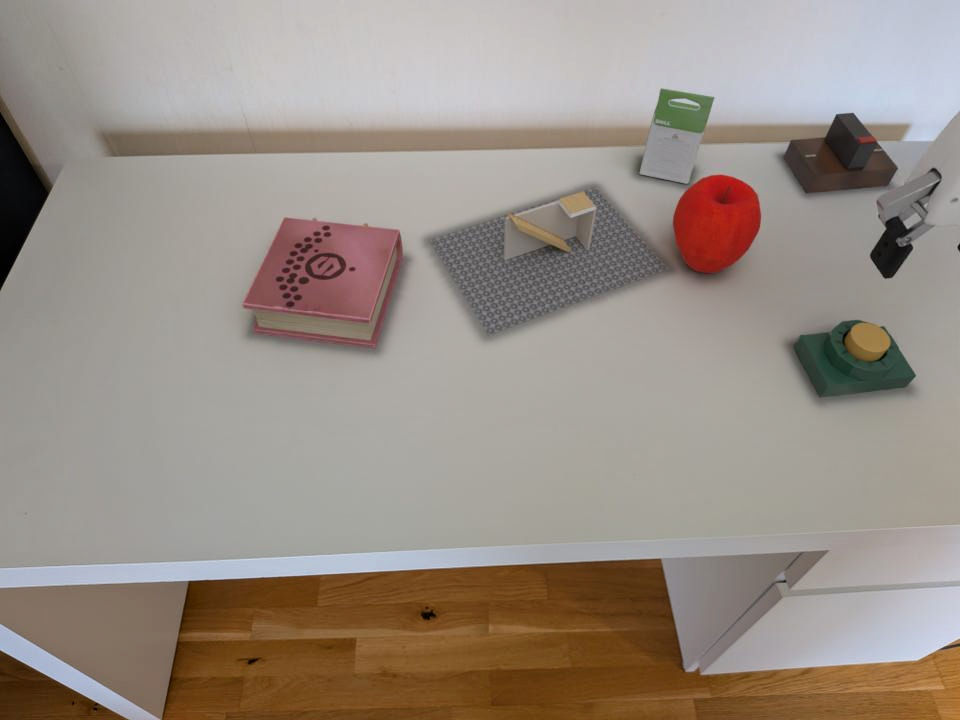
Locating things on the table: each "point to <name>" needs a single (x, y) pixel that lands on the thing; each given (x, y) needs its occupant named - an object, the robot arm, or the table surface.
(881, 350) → the button
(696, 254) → the apple
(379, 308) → the book
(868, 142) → the lock knob
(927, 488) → the table surface
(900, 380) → the box
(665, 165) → the ink box
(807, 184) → the plate
